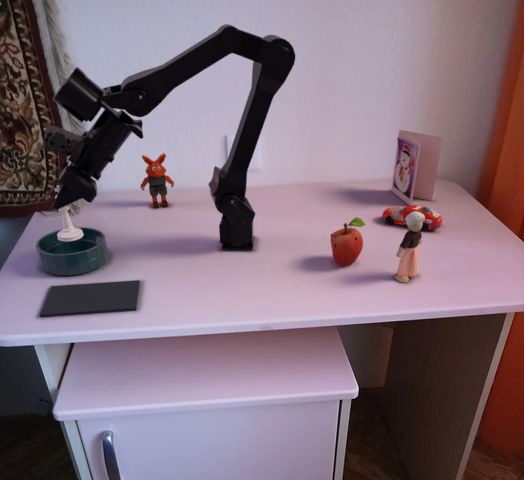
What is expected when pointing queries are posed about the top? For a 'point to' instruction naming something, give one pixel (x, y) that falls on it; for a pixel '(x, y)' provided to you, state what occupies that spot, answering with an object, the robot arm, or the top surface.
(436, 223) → the race car
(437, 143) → the greeting card
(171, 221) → the top surface
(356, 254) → the apple
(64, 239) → the chess piece
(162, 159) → the toy animal
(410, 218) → the grandmother figurine
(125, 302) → the mat
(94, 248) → the bowl
